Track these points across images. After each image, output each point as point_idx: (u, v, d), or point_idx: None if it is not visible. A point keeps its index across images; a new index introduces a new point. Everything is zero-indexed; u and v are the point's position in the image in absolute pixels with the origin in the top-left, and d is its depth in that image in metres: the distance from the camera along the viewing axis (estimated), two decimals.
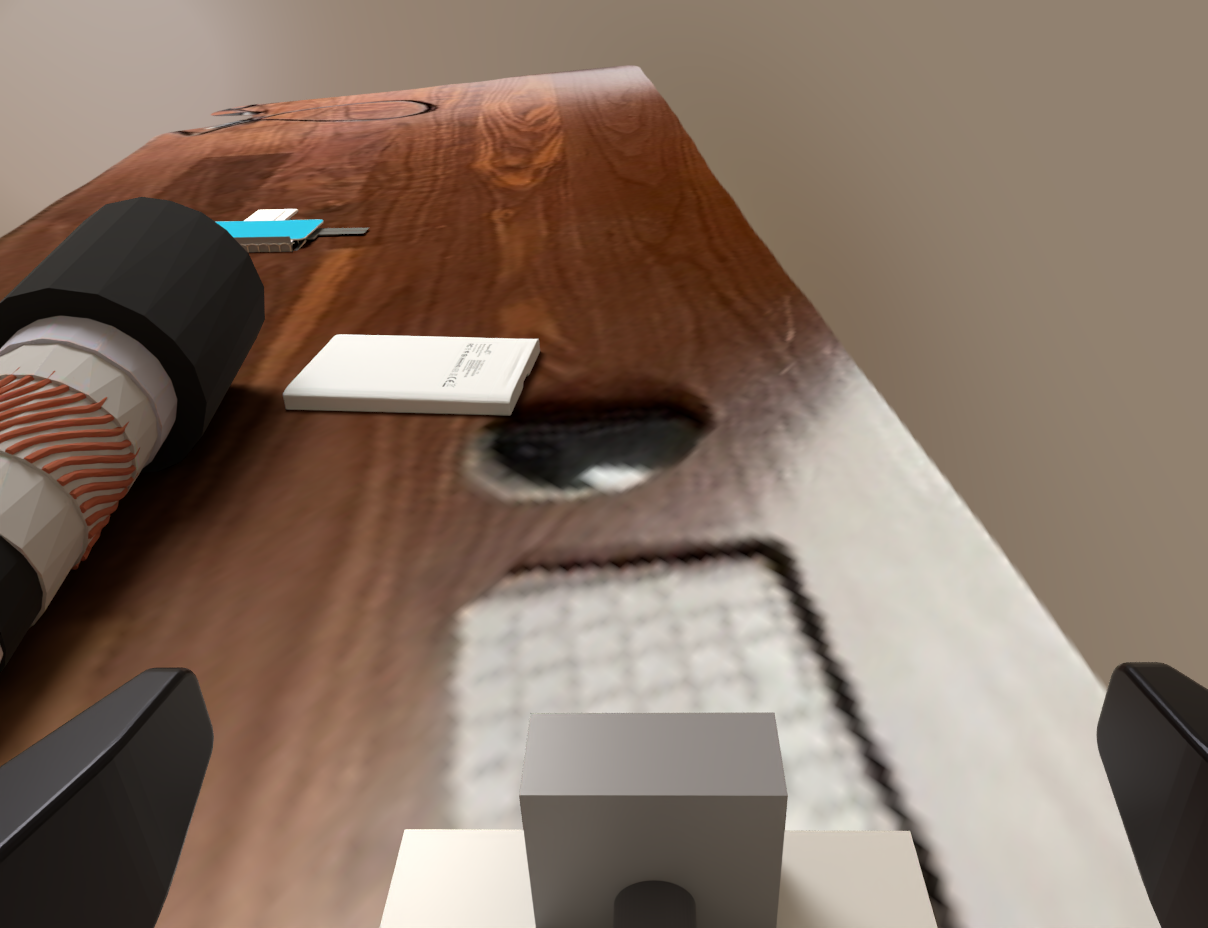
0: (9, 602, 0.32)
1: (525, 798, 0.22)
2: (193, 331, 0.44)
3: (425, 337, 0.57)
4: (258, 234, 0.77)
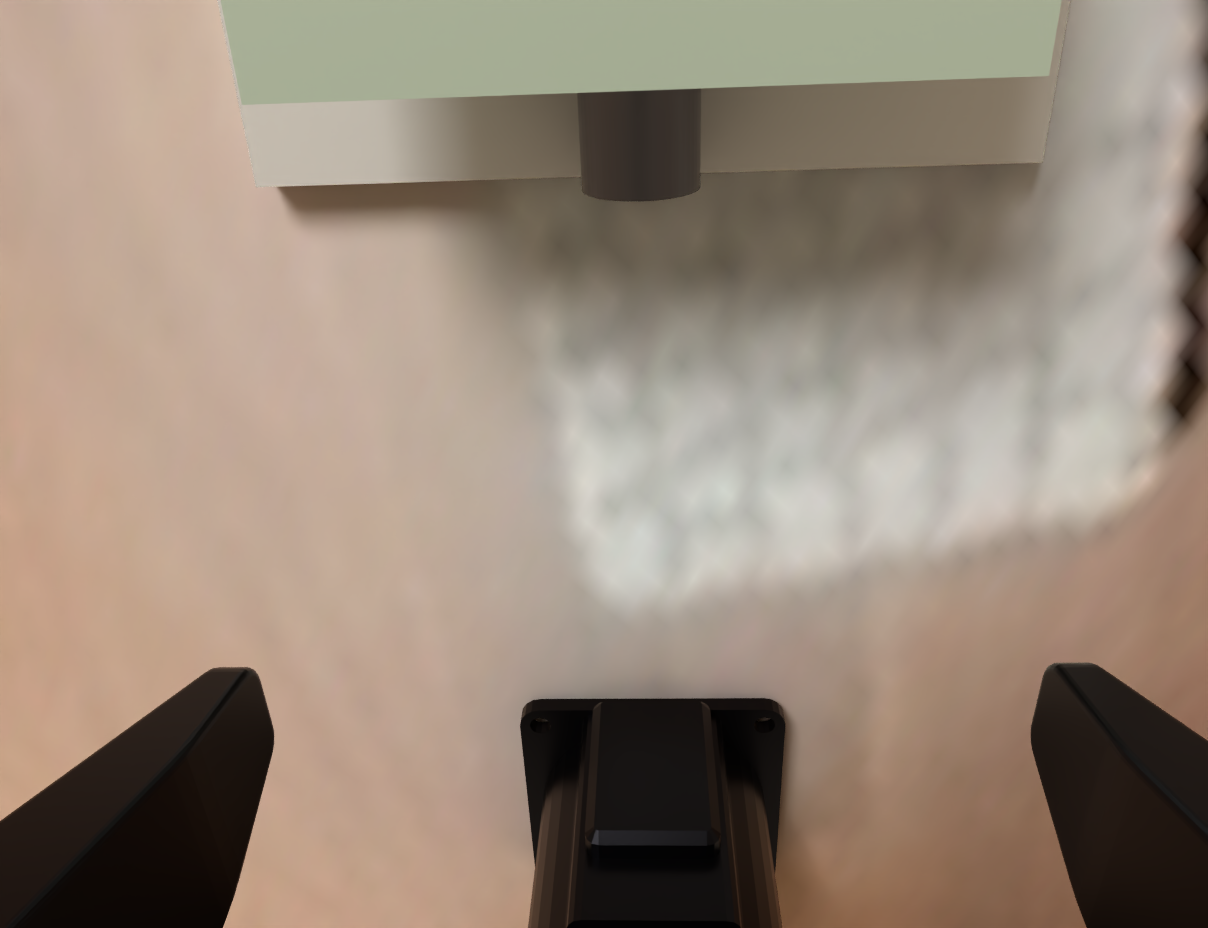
0: None
1: None
2: None
3: None
4: None
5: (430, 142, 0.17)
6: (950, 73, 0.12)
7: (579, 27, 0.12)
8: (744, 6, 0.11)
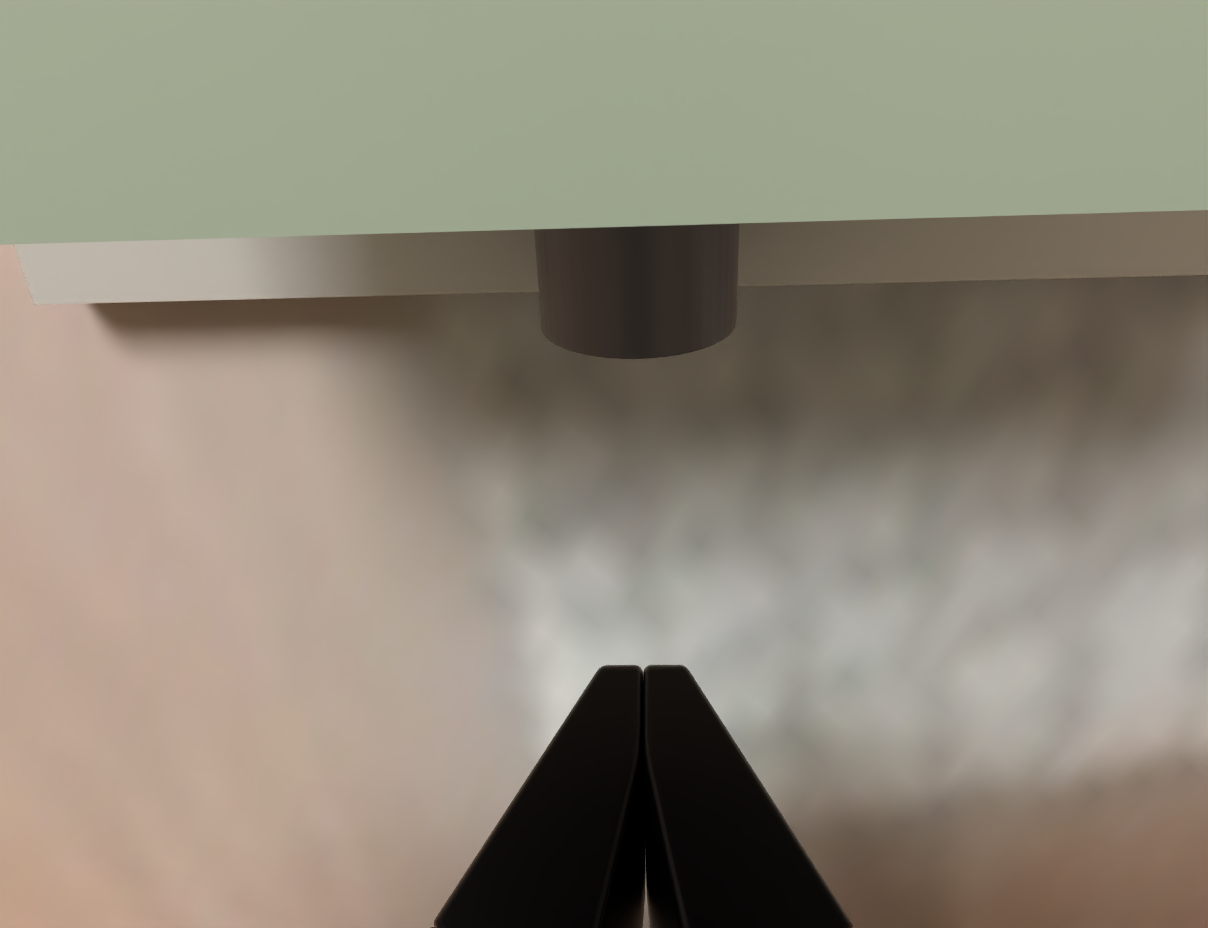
0: None
1: None
2: None
3: None
4: None
5: (302, 238, 0.11)
6: None
7: (503, 94, 0.05)
8: (868, 50, 0.05)
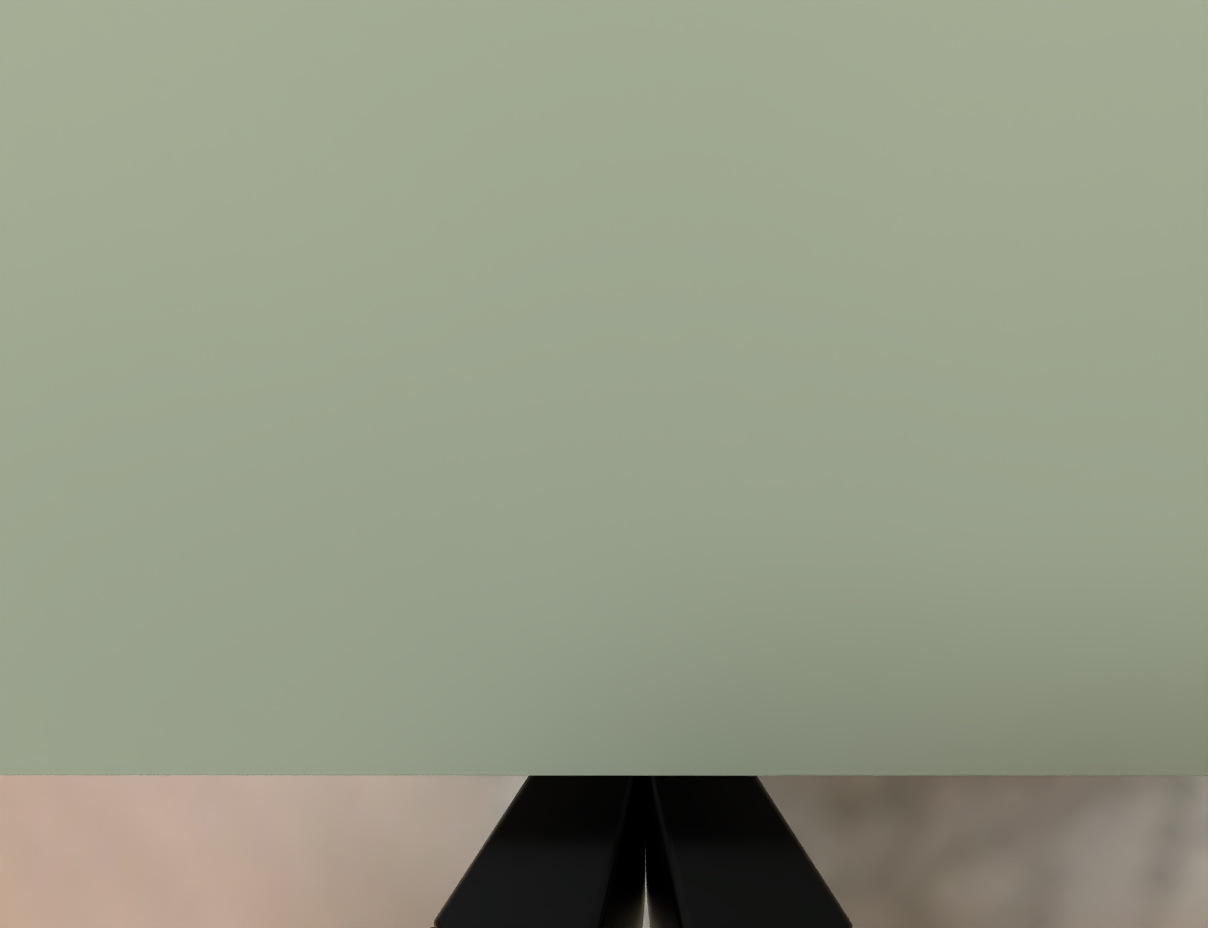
0: None
1: None
2: None
3: None
4: None
5: None
6: (1187, 770, 0.07)
7: (541, 697, 0.07)
8: (831, 674, 0.06)
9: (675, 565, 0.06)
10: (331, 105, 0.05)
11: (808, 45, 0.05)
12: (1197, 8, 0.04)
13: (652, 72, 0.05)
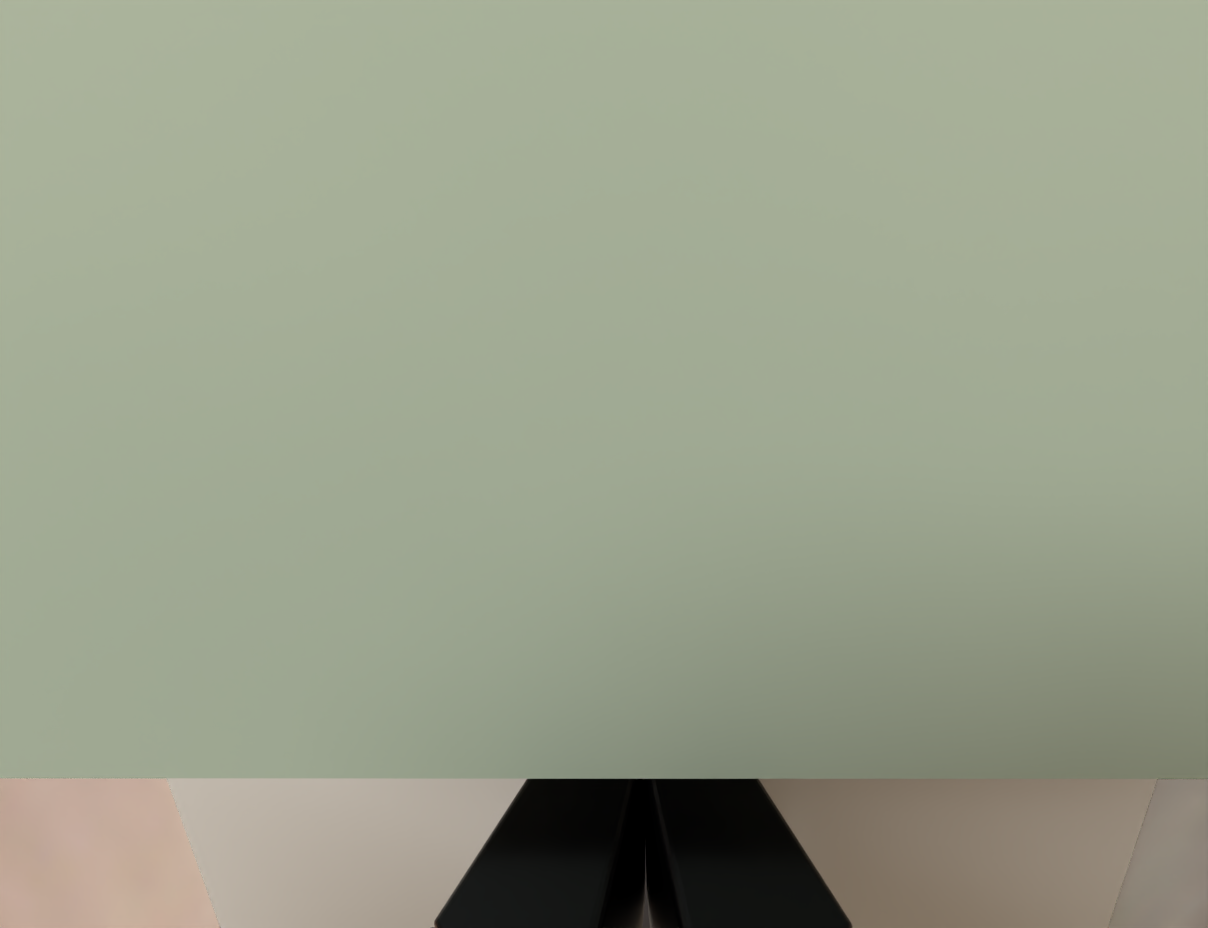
0: None
1: None
2: None
3: None
4: None
5: None
6: (1193, 773, 0.07)
7: (540, 700, 0.07)
8: (833, 676, 0.06)
9: (674, 568, 0.06)
10: (323, 98, 0.05)
11: (811, 37, 0.04)
12: None
13: (652, 65, 0.05)
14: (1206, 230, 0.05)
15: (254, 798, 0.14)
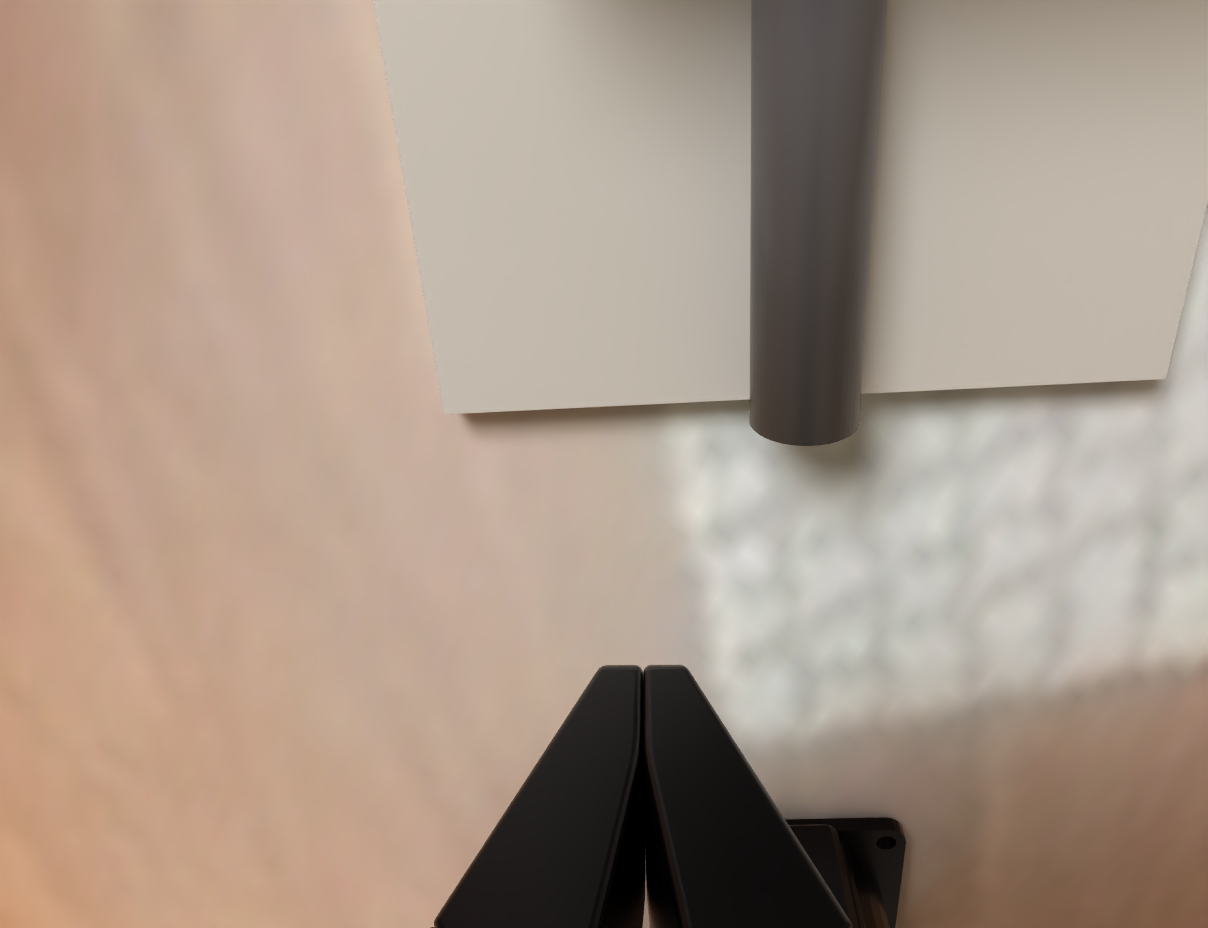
0: None
1: None
2: None
3: None
4: None
5: (605, 375, 0.19)
6: None
7: None
8: None
9: None
10: None
11: None
12: None
13: None
14: None
15: (468, 156, 0.17)
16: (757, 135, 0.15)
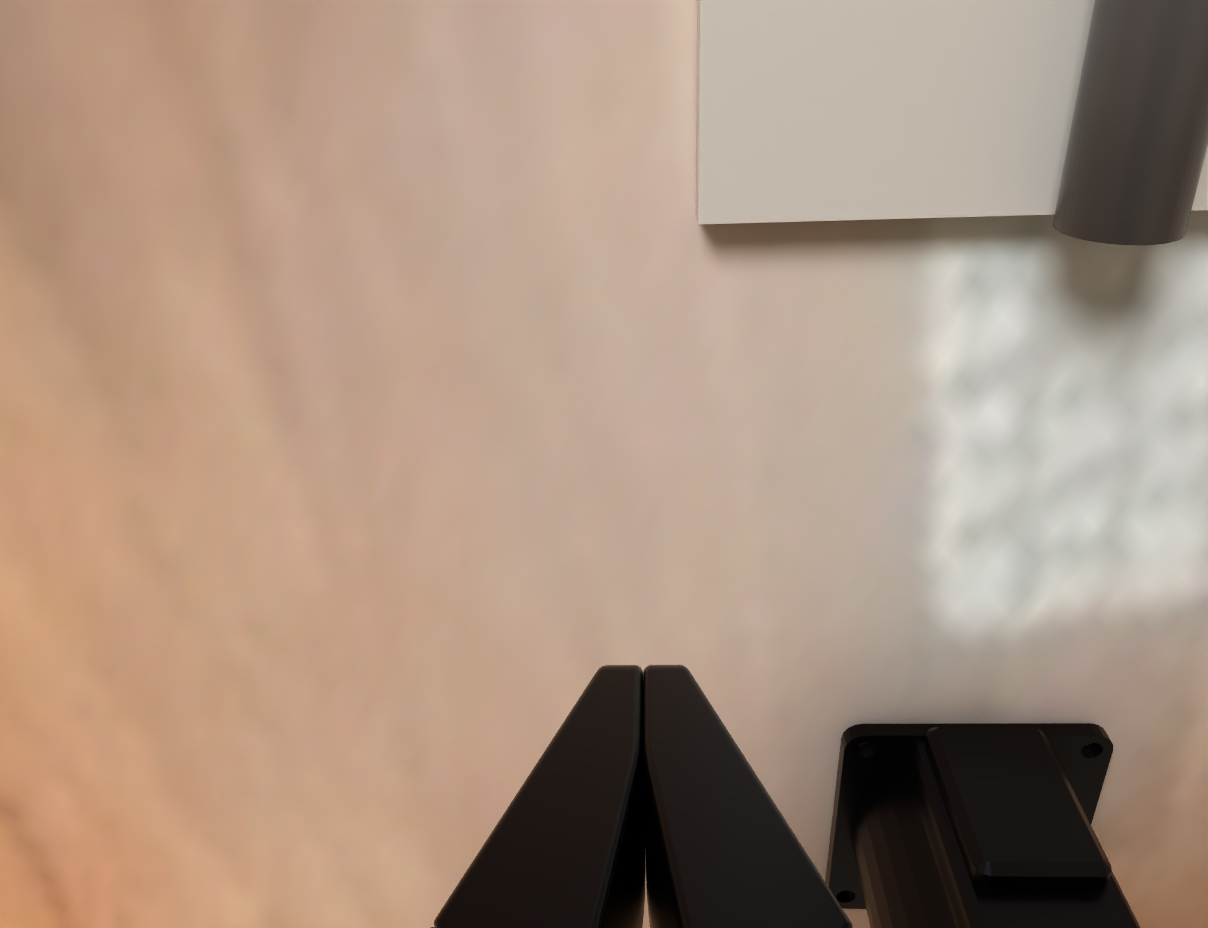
0: None
1: None
2: None
3: None
4: None
5: (885, 180, 0.17)
6: None
7: None
8: None
9: None
10: None
11: None
12: None
13: None
14: None
15: None
16: None
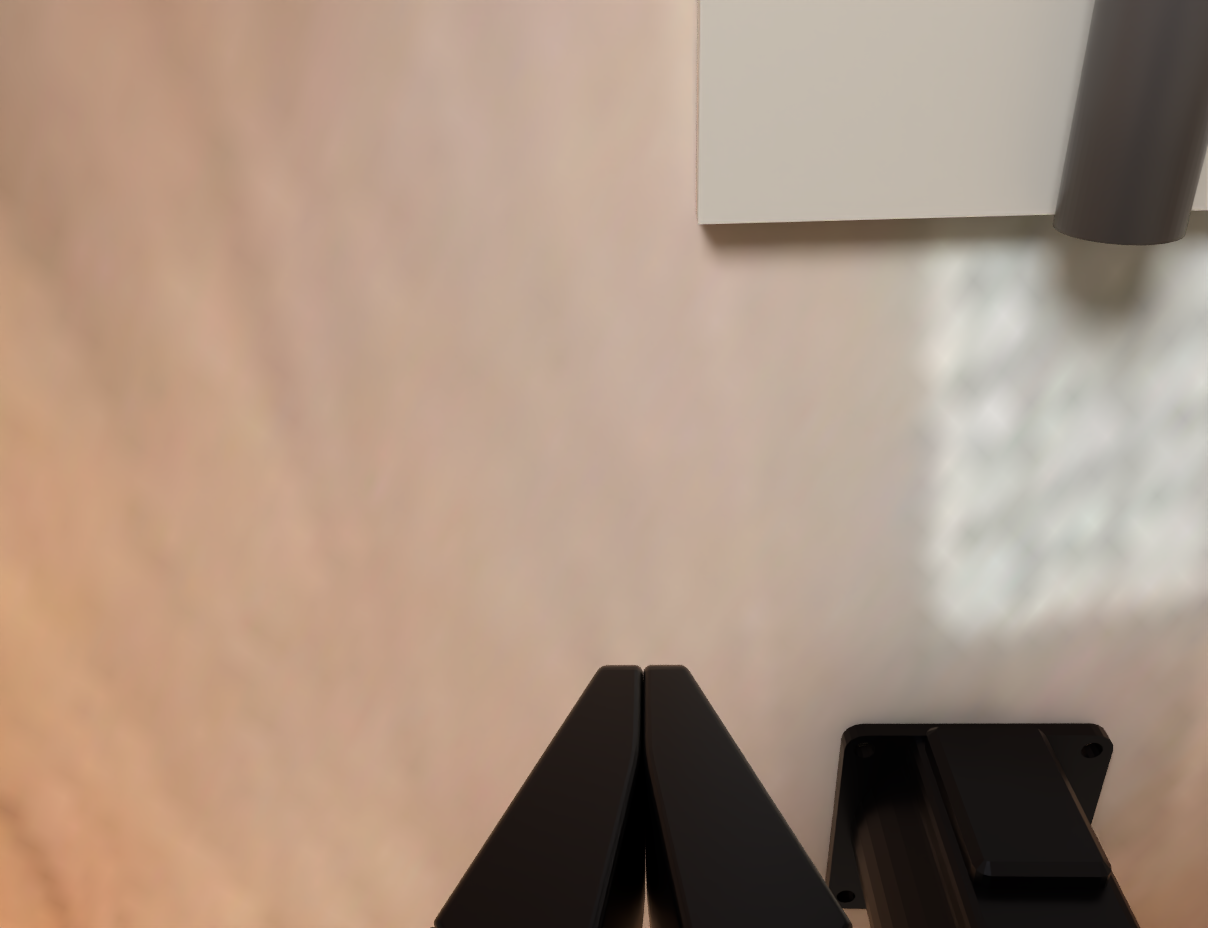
0: None
1: None
2: None
3: None
4: None
5: (885, 180, 0.17)
6: None
7: None
8: None
9: None
10: None
11: None
12: None
13: None
14: None
15: None
16: None
